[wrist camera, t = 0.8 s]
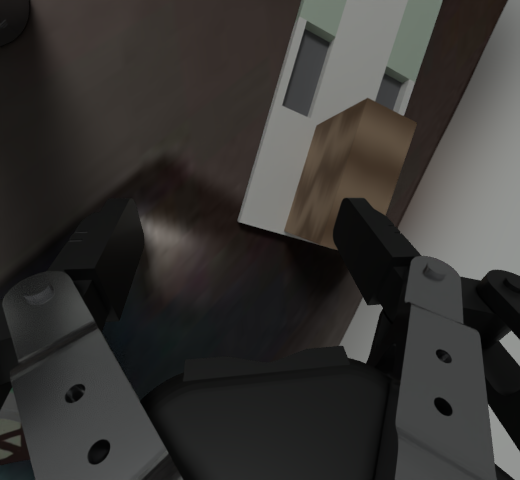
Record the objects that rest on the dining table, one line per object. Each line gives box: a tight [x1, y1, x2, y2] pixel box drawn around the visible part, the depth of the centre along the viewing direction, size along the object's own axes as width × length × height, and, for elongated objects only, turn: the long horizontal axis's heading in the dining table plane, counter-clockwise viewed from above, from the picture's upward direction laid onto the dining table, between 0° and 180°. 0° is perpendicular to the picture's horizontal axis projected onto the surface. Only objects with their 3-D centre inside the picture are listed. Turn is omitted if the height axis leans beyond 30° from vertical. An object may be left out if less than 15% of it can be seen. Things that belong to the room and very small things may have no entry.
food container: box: [0, 388, 31, 465], centre depth 26 cm, size 12×6×10 cm, turn 81°
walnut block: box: [284, 98, 417, 250], centre depth 30 cm, size 14×6×10 cm, turn 163°
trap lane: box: [238, 0, 443, 250], centre depth 34 cm, size 40×18×2 cm, turn 163°
